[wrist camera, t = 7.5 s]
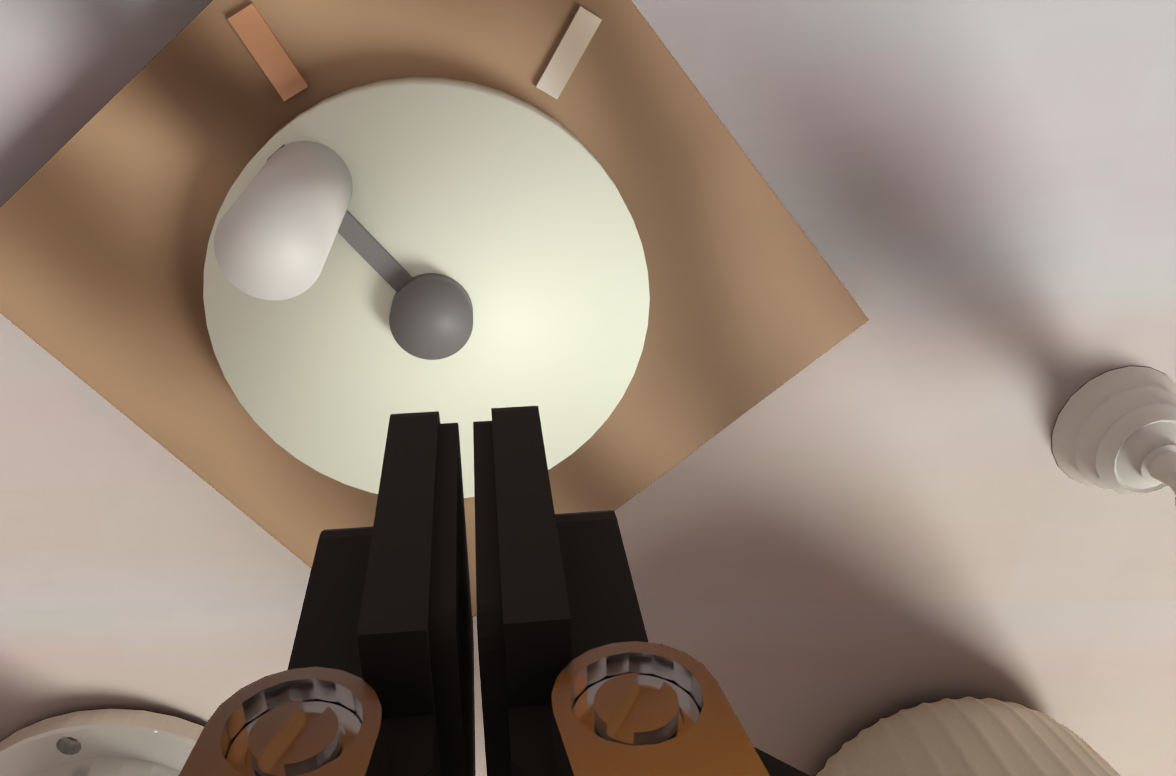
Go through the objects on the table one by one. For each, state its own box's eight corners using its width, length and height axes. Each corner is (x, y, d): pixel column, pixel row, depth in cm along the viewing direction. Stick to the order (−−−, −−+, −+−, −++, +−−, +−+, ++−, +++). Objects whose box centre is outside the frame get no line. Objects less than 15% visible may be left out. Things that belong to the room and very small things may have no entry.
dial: (722, 312, 33) (788, 417, 26) (422, 544, 35) (411, 695, 28) (447, -25, 28) (441, -3, 21) (120, 274, 30) (19, 380, 23)
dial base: (421, 630, 39) (419, 660, 37) (-35, 249, 31) (-62, 267, 29) (853, 303, 35) (870, 321, 33) (455, -229, 27) (455, -237, 25)
